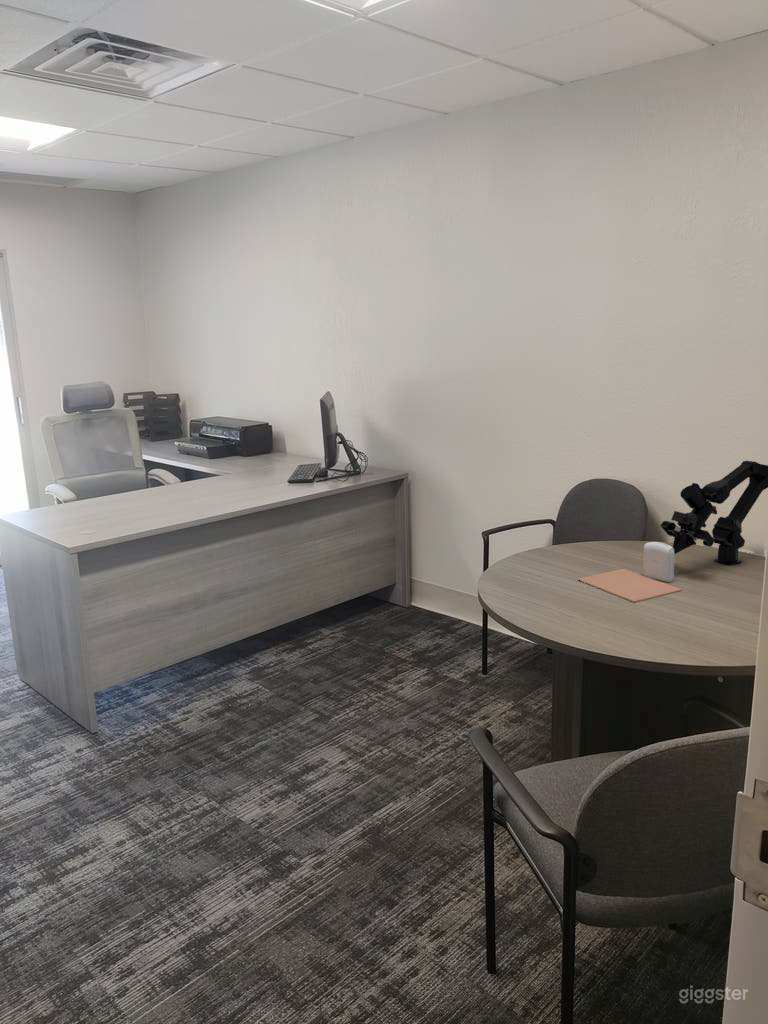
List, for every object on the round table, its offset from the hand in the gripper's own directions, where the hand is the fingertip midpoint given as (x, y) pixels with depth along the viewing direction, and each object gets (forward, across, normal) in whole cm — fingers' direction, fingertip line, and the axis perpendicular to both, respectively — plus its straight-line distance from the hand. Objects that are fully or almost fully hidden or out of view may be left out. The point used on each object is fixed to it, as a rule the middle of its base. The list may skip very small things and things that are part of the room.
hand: (672, 553), depth 257 cm
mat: (+19, 0, -8) cm, 21 cm away
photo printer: (+10, 0, +1) cm, 10 cm away
